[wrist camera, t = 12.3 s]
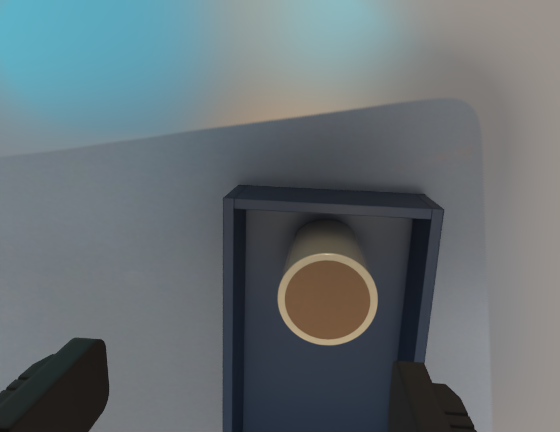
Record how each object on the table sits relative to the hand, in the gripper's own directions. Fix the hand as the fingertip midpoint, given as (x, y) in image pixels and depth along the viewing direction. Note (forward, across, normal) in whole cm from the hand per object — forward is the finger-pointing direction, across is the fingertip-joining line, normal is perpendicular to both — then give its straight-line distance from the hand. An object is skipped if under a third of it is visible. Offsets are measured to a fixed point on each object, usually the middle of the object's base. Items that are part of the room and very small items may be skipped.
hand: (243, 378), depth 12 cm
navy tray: (+25, -3, +12) cm, 28 cm away
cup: (+25, -3, +5) cm, 25 cm away
